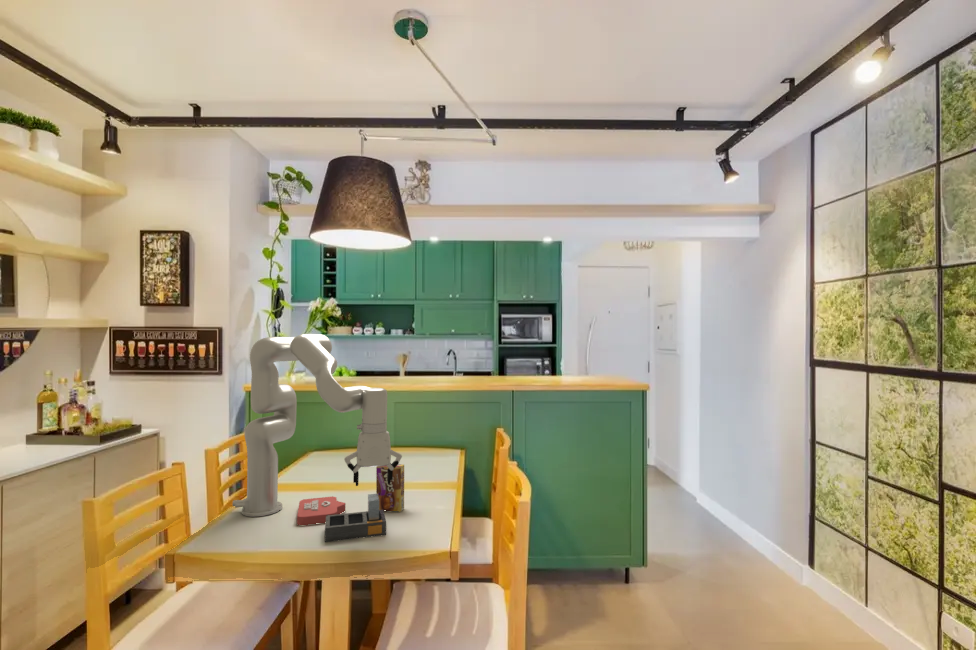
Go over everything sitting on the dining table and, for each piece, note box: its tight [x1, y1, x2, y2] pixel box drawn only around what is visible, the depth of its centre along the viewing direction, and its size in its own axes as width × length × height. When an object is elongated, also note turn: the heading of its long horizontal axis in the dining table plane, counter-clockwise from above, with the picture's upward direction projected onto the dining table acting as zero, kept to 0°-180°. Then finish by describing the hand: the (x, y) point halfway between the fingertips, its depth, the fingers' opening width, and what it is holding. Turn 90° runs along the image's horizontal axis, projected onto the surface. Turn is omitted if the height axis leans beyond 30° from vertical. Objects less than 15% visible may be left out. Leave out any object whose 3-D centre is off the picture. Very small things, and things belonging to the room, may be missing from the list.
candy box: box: [375, 463, 405, 513], centre depth 165 cm, size 9×4×15 cm, turn 82°
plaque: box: [296, 495, 346, 526], centre depth 161 cm, size 18×4×15 cm
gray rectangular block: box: [367, 493, 379, 521], centre depth 147 cm, size 3×6×10 cm, turn 17°
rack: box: [324, 510, 387, 543], centre depth 146 cm, size 17×11×4 cm, turn 107°
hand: (373, 483), depth 148 cm, fingers open, 9 cm apart
